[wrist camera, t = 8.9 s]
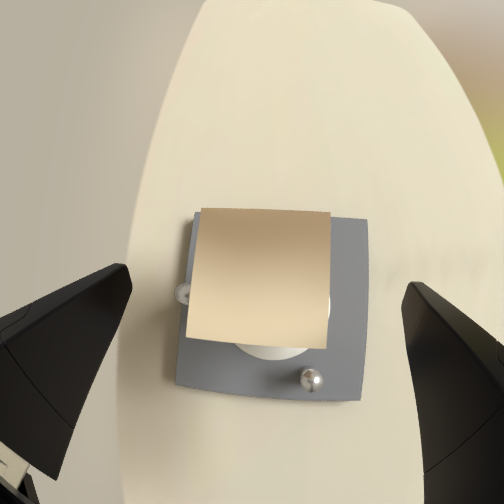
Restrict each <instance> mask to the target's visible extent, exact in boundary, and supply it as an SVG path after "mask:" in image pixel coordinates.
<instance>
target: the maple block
mask: <svg viewBox="0 0 504 504" xmlns="http://www.w3.org/2000/svg"><path fill="white" fill-rule="evenodd" d="M330 250H331V218H330V212H314V211H293V210H267V209H231V208H201V214H200V221H199V228H198V235H197V242H196V250H195V257H194V265H193V273H192V281H191V290H190V299H189V308H188V318H187V328H186V337H188V338H196V339H203V340H212V341H220V342H229V343H239V344H250V345H262V346H276V347H292V348H313V349H326V344H327V329H328V313H329V291H330Z"/></svg>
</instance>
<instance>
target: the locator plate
mask: <svg viewBox="0 0 504 504" xmlns="http://www.w3.org/2000/svg"><path fill="white" fill-rule="evenodd" d="M200 214H201V212H195V214H194V221H193V227H192V234H191V240H190V247H189V254H188V262H187V269H186V277H185V283H182V284H180V285H179V286H178V287H177V288H176V290H175V298H176V300H177V301H178V302H180V303H182V312H181V321H180V332H179V343H178V354H177V367H176V382H175V385H178V386H184V387H189V388H195V389H200V390H206V391H213V392H220V393H227V394H235V395H243V396H252V397H262V398H274V399H289V400H312V401H360V399H361V391H362V383H363V374H364V364H365V352H366V338H367V321H368V290H369V257H368V225H367V219H353V218H338V217H330V218H331V250H330V291H329V313H328V329H327V344H326V349H313V348H292V347H276V346H262V345H250V344H239V343H229V342H220V341H212V340H203V339H196V338H188V337H186V328H187V318H188V308H189V299H190V290H191V281H192V273H193V265H194V257H195V250H196V242H197V235H198V228H199V221H200Z"/></svg>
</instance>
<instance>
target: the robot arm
mask: <svg viewBox="0 0 504 504" xmlns="http://www.w3.org/2000/svg"><path fill="white" fill-rule="evenodd" d="M131 292H132V282H131V278H130V275H129V271H128V268H127V266H126V265H125V264H119V263H114V264H112V265H110V266H108V267H105V268H103V269H101V270H99V271H97V272H94V273H92V274H90V275H88V276H86V277H84V278H81V279H79V280H77V281H75V282H73V283H71V284H69V285H67V286H65V287H62V288H60V289H58V290H56V291H54V292H52V293H50V294H48V295H46V296H44V297H42V298H40V299H38V300H36V301H34V302H33V303H30V304H28V305H26V306H24V307H22V308H20V309H18V310H16V311H14V312H12V313H9V314H7V315H5V316H3V317H1V318H0V504H40V503H39V500H38V497H37V494H36V491H35V487H34V484H33V480H32V477H31V475H29V474H28V473H27V470H28V468H29V466H30V464H31V465H32V466H34V467H35V468H37V469H38V470H40V471H41V472H43V473H44V474H46V475H47V476H49V477H50V478H52V479H54V480H55V481H56V480H57V478H58V476H59V473H60V469H61V466H62V463H63V460H64V457H65V454H66V451H67V448H68V445H69V443H70V440H71V437H72V434H73V431H74V430H73V429H74V428H75V426H76V423H77V420H78V418H79V415H80V413H81V410H82V408H83V405H84V403H85V400H86V398H87V395H88V393H89V390H90V388H91V385H92V383H93V381H94V379H95V376H96V374H97V372H98V370H99V367H100V365H101V363H102V361H103V358H104V356H105V354H106V352H107V350H108V348H109V346H110V343H111V341H112V339H113V337H114V335H115V333H116V331H117V329H118V326H119V324H120V321H121V318H122V316H123V313H124V310H125V308H126V305H127V303H128V300H129V297H130V295H131ZM401 311H402V318H403V326H404V333H405V342H406V350H407V356H408V361H409V366H410V371H411V376H412V381H413V387H414V393H415V399H416V405H417V412H418V419H419V427H420V436H421V445H422V457H423V472H424V504H504V346H503V345H502V344H501V343H500V342H499V341H497V340H496V339H495V338H494V337H493V336H491V335H490V334H489V333H488V332H487V331H485V330H484V329H483V328H482V327H480V326H479V325H478V324H477V323H475V322H474V321H473V320H472V319H470V318H469V317H468V316H467V315H465V314H464V313H463V312H461V311H460V310H459V309H458V308H456V307H455V306H454V305H452V304H451V303H450V302H448V301H447V300H446V299H444V298H443V297H442V296H440V295H439V294H438V293H436V292H435V291H434V290H432V289H431V288H429V287H428V286H427V285H425V284H424V283H422V282H410V283H409V284H408V286H407V289H406V292H405V295H404V298H403V301H402V306H401Z"/></svg>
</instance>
